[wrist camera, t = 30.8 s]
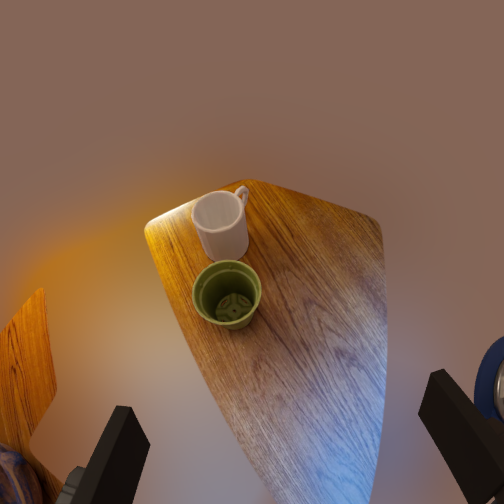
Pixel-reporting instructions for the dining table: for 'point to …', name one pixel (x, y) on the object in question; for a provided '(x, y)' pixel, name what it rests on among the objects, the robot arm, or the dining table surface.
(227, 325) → the plant pot
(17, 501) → the bowl
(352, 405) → the dining table surface
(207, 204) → the mug
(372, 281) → the dining table surface
